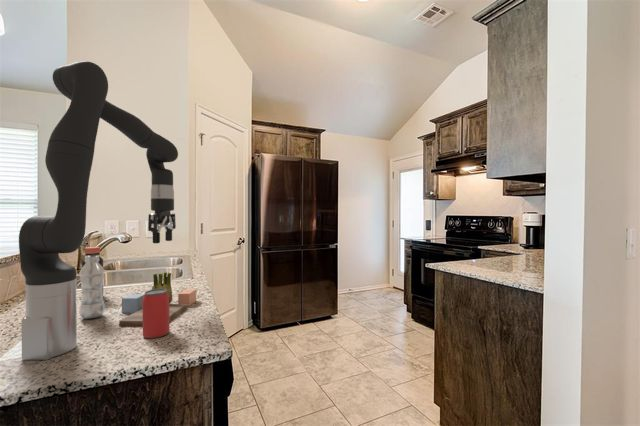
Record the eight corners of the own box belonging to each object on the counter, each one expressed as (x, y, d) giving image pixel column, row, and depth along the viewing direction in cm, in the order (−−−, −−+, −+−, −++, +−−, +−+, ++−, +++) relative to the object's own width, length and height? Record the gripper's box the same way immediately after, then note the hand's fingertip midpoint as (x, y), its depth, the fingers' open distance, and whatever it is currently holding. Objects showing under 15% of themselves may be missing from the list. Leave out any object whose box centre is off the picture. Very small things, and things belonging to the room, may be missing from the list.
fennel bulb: (151, 306, 107) (151, 273, 107) (161, 302, 112) (161, 270, 112) (165, 307, 106) (165, 274, 106) (174, 303, 111) (174, 271, 110)
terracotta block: (189, 306, 108) (189, 293, 108) (178, 306, 108) (178, 293, 108) (196, 301, 114) (196, 289, 114) (185, 301, 114) (185, 289, 114)
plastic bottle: (91, 321, 92) (91, 257, 92) (73, 320, 93) (73, 257, 93) (110, 314, 98) (109, 254, 98) (93, 313, 100) (93, 254, 100)
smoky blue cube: (136, 313, 100) (136, 298, 100) (121, 313, 100) (121, 298, 100) (145, 308, 105) (145, 294, 105) (131, 308, 105) (131, 294, 105)
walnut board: (162, 325, 89) (162, 320, 89) (119, 325, 89) (119, 320, 89) (186, 308, 105) (186, 304, 105) (150, 308, 105) (150, 304, 105)
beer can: (150, 341, 78) (150, 296, 78) (137, 335, 82) (137, 292, 82) (174, 332, 84) (174, 290, 84) (161, 327, 87) (161, 287, 87)
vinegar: (106, 296, 119) (106, 247, 119) (86, 301, 113) (85, 249, 113) (98, 294, 123) (98, 246, 123) (78, 298, 117) (78, 247, 117)
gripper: (162, 196, 101) (162, 244, 102) (182, 198, 116) (182, 240, 116) (140, 196, 101) (140, 244, 102) (162, 198, 116) (163, 240, 116)
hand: (162, 242), depth 109 cm, fingers open, 8 cm apart
